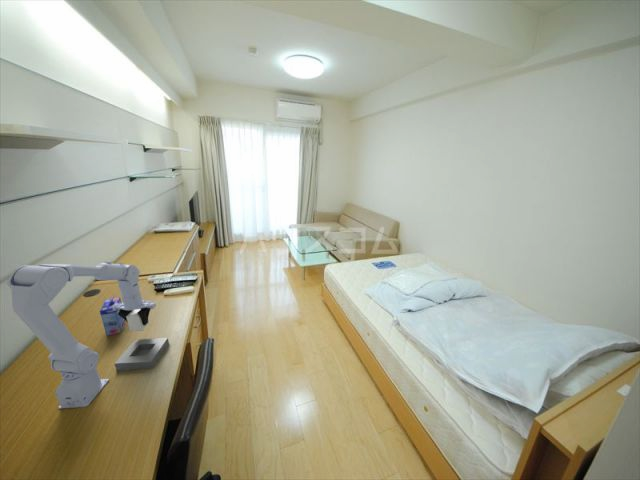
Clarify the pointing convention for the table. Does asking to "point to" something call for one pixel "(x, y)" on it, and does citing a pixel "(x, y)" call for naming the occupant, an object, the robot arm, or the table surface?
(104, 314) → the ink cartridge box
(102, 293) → the table surface
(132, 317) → the brick
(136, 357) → the block
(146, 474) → the table surface
